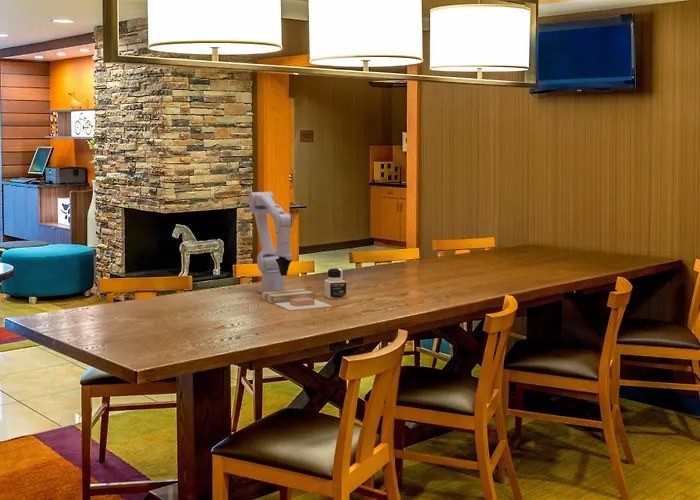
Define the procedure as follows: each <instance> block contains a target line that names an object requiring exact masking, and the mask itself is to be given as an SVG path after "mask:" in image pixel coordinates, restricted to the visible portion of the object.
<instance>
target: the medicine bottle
mask: <svg viewBox="0 0 700 500" xmlns="http://www.w3.org/2000/svg"><path fill="white" fill-rule="evenodd" d="M323 283H324V298H326V299H329V300H337V299H338V300H339V299H346V298H347V281H346V280H343V270H342V269H341V268H334V267H333V268H330V269H328V270H327V279H324V282H323Z"/></svg>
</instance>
